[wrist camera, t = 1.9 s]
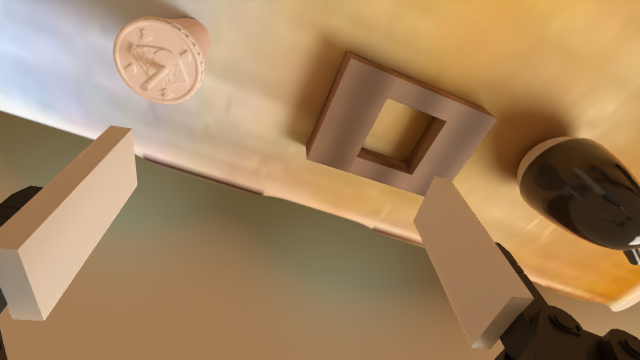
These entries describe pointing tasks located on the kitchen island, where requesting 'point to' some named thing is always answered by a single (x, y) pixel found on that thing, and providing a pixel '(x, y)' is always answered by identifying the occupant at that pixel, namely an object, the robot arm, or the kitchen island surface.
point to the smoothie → (162, 57)
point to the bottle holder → (363, 109)
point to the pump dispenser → (584, 192)
